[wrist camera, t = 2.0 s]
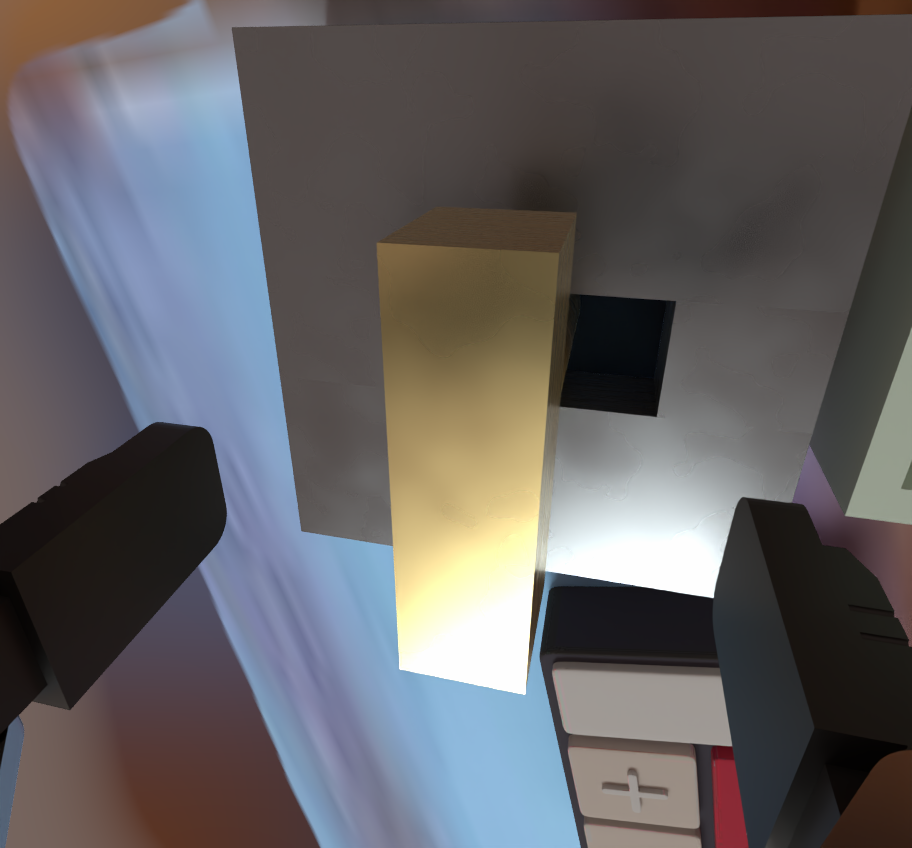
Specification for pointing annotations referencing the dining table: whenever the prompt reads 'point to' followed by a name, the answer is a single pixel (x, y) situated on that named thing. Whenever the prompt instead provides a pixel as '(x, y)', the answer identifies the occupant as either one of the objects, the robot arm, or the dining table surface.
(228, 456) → the dining table surface
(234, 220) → the dining table surface
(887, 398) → the tray
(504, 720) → the dining table surface
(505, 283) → the t key
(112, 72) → the dining table surface
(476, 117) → the lock block
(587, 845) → the calculator
